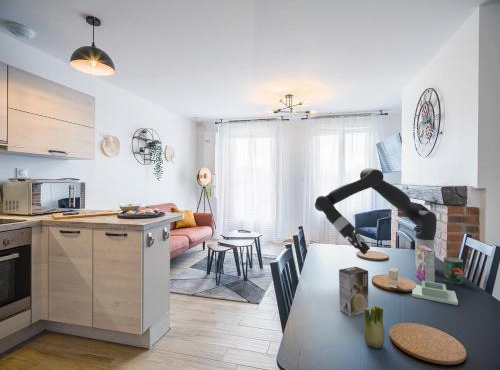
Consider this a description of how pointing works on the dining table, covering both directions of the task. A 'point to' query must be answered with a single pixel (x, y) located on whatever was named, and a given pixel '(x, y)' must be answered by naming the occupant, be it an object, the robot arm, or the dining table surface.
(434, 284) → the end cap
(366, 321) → the fennel bulb
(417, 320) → the dining table surface
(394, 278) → the ash slat
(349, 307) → the coffee box
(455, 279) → the canned tomato
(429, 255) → the candy bar box
